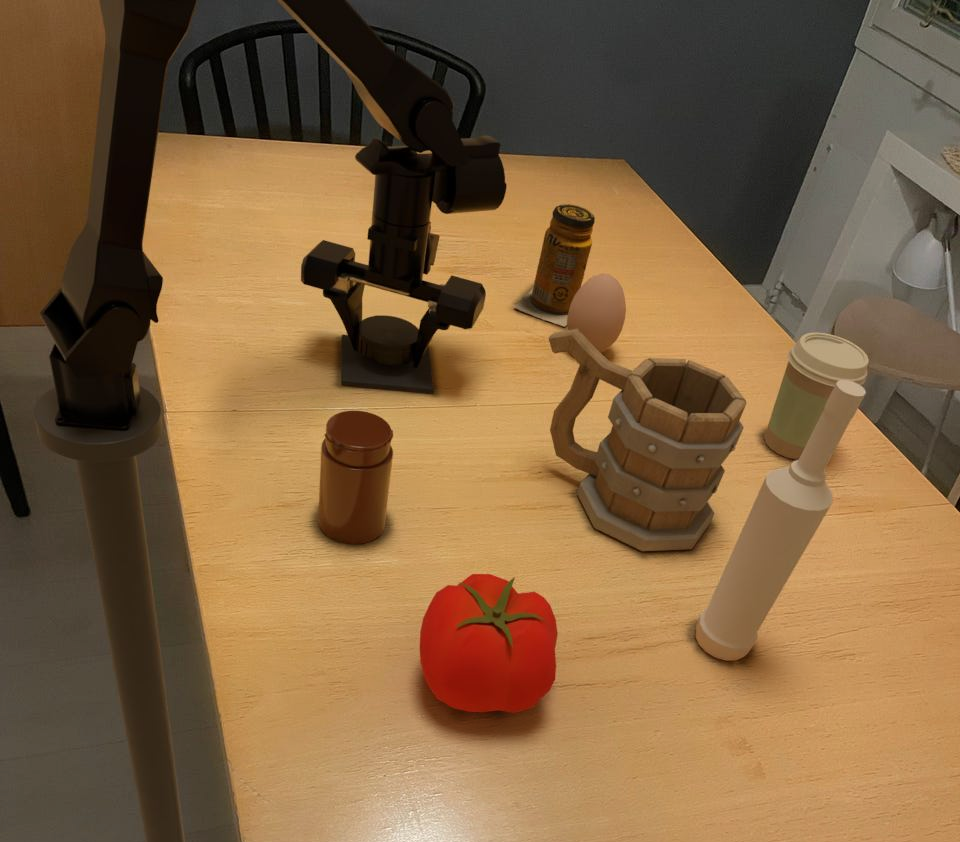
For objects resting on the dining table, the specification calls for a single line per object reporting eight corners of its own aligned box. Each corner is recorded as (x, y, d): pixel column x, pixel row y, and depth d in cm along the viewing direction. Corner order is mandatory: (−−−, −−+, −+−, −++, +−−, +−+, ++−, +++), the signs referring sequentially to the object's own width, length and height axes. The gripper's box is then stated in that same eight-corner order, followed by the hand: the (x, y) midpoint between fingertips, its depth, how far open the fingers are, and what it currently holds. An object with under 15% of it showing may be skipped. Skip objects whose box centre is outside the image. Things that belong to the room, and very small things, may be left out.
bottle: (682, 624, 80) (799, 369, 62) (730, 616, 82) (857, 366, 64) (711, 667, 77) (843, 411, 59) (761, 657, 78) (904, 406, 61)
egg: (586, 371, 108) (607, 293, 102) (548, 343, 112) (567, 266, 105) (624, 359, 112) (647, 283, 105) (587, 333, 115) (607, 258, 108)
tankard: (721, 507, 93) (779, 377, 83) (677, 570, 85) (735, 434, 74) (552, 429, 98) (586, 297, 88) (495, 481, 90) (525, 342, 79)
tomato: (384, 675, 70) (395, 594, 64) (483, 617, 76) (502, 538, 70) (478, 764, 66) (500, 686, 59) (576, 695, 72) (604, 618, 66)
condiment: (585, 304, 121) (609, 212, 113) (564, 328, 115) (588, 233, 107) (535, 286, 122) (555, 194, 114) (512, 309, 116) (531, 214, 108)
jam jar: (317, 542, 79) (321, 446, 72) (318, 499, 83) (323, 405, 76) (385, 546, 80) (396, 452, 73) (383, 504, 85) (394, 411, 77)
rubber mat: (341, 385, 97) (341, 380, 97) (341, 339, 104) (341, 334, 104) (433, 394, 99) (434, 389, 99) (427, 347, 106) (428, 343, 106)
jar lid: (430, 352, 102) (433, 333, 100) (393, 373, 97) (395, 353, 95) (382, 327, 104) (384, 308, 102) (343, 347, 99) (344, 327, 97)
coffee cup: (824, 437, 107) (872, 343, 98) (824, 475, 101) (875, 379, 92) (754, 416, 108) (795, 321, 99) (750, 453, 102) (794, 356, 93)
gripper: (508, 212, 95) (484, 348, 106) (340, 166, 96) (333, 306, 107) (483, 251, 87) (459, 393, 98) (300, 201, 88) (297, 347, 99)
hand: (386, 357), depth 101 cm, fingers closed on jar lid, 6 cm apart
